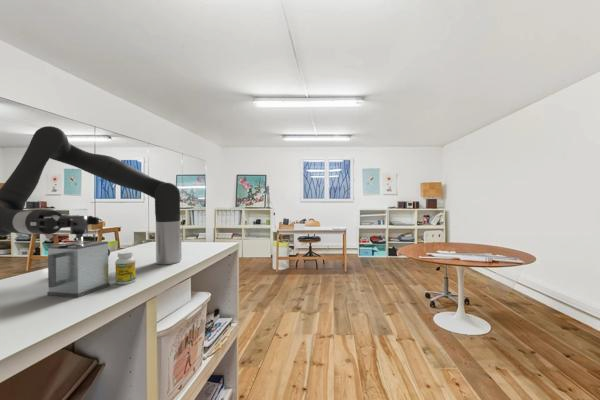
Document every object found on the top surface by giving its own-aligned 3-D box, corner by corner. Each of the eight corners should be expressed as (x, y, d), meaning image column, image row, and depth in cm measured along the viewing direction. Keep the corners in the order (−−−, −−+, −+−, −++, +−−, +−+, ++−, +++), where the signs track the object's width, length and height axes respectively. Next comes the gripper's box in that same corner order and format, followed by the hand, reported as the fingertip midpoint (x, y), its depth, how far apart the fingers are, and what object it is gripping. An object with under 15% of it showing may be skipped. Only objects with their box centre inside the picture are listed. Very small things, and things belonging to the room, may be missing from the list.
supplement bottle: (135, 278, 91) (134, 250, 91) (136, 282, 86) (135, 252, 86) (115, 281, 88) (115, 251, 88) (115, 285, 83) (115, 254, 83)
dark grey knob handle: (81, 273, 83) (80, 215, 83) (100, 274, 82) (100, 215, 82) (57, 280, 77) (56, 216, 76) (78, 281, 75) (77, 217, 75)
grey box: (81, 284, 85) (81, 240, 85) (109, 285, 84) (109, 241, 84) (34, 299, 72) (34, 248, 72) (66, 301, 71) (66, 249, 71)
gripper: (9, 210, 75) (59, 210, 72) (62, 208, 89) (106, 208, 86) (9, 237, 75) (60, 238, 72) (63, 231, 89) (107, 231, 86)
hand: (85, 221), depth 79 cm, fingers open, 7 cm apart
